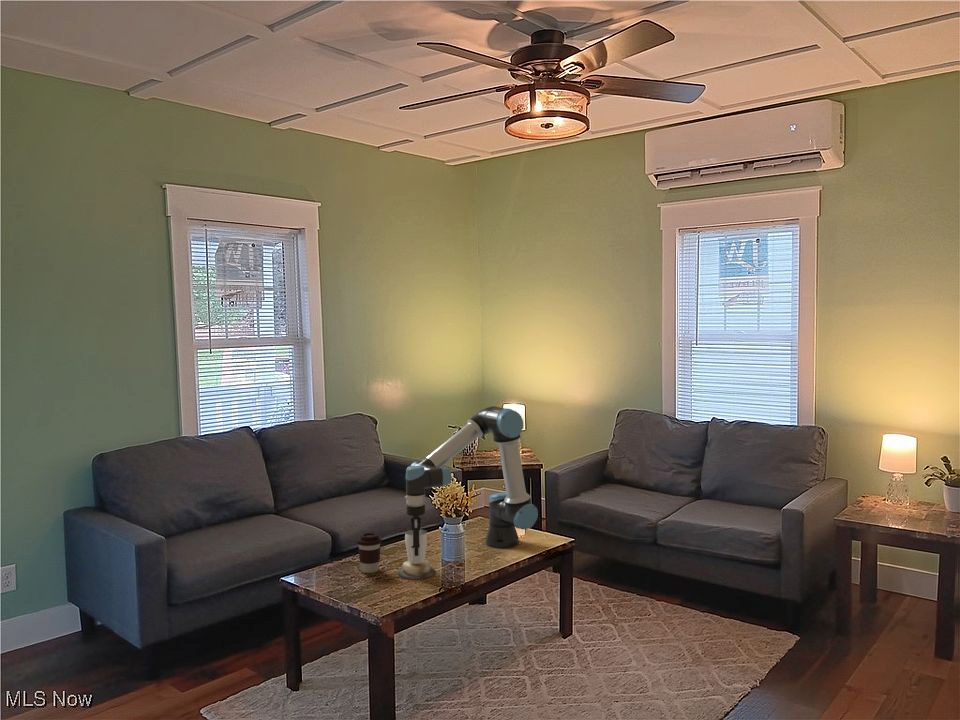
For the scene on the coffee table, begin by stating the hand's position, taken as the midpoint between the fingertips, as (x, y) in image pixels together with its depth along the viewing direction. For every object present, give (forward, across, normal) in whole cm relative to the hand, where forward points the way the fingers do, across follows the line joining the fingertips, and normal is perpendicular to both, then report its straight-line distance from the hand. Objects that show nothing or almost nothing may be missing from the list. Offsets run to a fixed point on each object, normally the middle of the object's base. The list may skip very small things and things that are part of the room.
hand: (416, 559), depth 320 cm
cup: (+1, 0, 0) cm, 1 cm away
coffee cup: (+6, -5, -19) cm, 21 cm away
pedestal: (+6, 0, 0) cm, 6 cm away
